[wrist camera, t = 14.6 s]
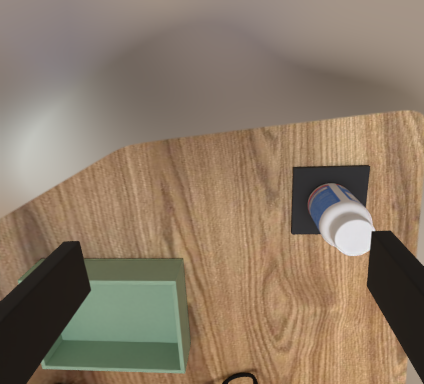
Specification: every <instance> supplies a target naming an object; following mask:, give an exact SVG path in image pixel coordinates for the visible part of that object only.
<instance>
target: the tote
mask: <svg viewBox="0 0 424 384" xmlns="http://www.w3.org/2000/svg"><path fill="white" fill-rule="evenodd" d="M44 260H45V259H40V261H38V262H37V263H36V264H35V265H34V266H33V267H32V268H31V269H30V270H28V271H27V272H26V273H25V274H24V275H23V276H22V277H21V278H20V279H19V280H18V283H19V284H20V283H21V282H22V281H23V280H24V279H25V278H26V277H27V276H28V275H29V274H30V273H31V272H32V271H33V270H34V269H36V268H37V267H38V266H39V265H40V264H41V263H42V262H43V261H44ZM84 262H85V266H86V270H87V274H88V279H89V283H90V287H91V292H90V293H89V294H88V296H87V297H86V299H85V300H84V302H83V303H82V305H81V306H80V307H79V309H78V310H77V312H76V313H75V315H74V316H73V317H72V319H71V320H70V322H69V323H68V325H67V326H66V327H65V329H64V330H63V332H62V333H61V335H60V336H59V338H58V339H57V340H56V342H55V343H54V345H53V346H52V348H51V349H50V350H49V352H48V353H47V355H46V356H45V358H44V359H43V360H42V362H41V364H42V368H43V369H64V370H95V371H126V372H157V373H185V371H186V366H187V361H188V355H189V350H190V345H191V342H190V331H189V320H188V309H187V298H186V287H185V276H184V264H183V259H84Z"/></svg>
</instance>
